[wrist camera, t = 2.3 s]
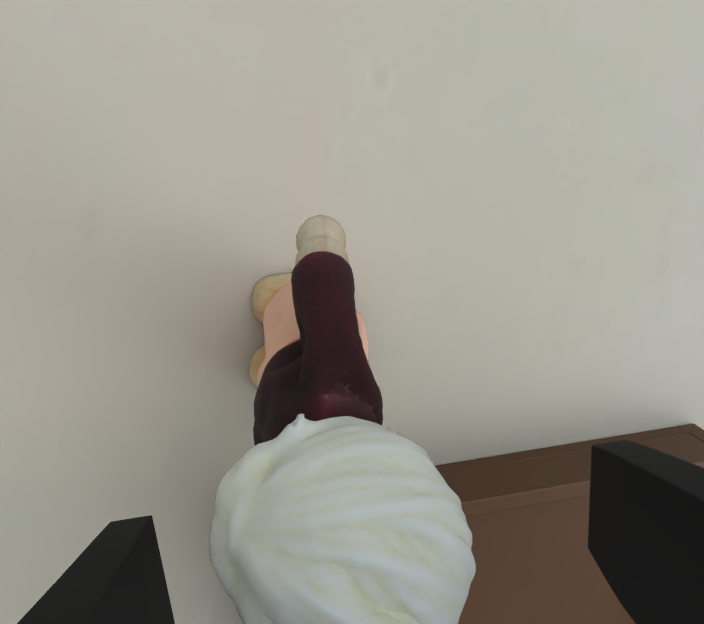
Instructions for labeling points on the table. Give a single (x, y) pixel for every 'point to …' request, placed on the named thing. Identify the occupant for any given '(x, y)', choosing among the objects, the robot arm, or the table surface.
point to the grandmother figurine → (332, 472)
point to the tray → (543, 531)
